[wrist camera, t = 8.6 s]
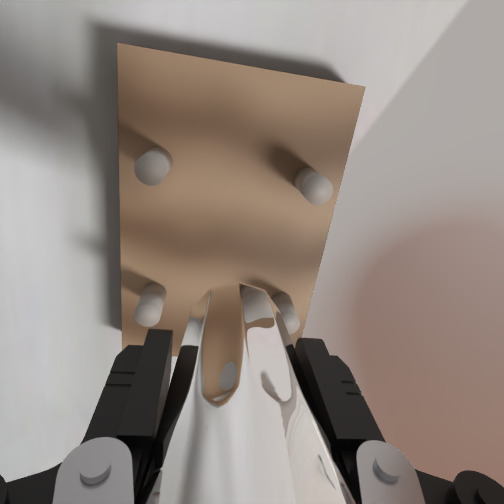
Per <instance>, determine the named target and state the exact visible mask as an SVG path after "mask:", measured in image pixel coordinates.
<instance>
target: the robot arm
mask: <svg viewBox="0 0 504 504" xmlns="http://www.w3.org/2000/svg"><path fill="white" fill-rule="evenodd" d="M172 344H173V330H167V329H150V328H149V329H148V332H147V335H146V338H145V342H144V345H128V346H127V347H125V348H124V349H123V350H122V351H121V352H120V353H119V354H118V355H117V356H116V358H115V361H114V363H113V366H112V368H111V371H110V374H109V376H108V379H107V381H106V384H105V387H104V389H103V391H102V394H101V396H100V399H99V401H98V404H97V406H96V409H95V412H94V414H93V417H92V419H91V422H90V424H89V427H88V429H87V432H86V434H85V437H84V439H83V441H82V442H81V444H80V445H79V446H78V447H76V448H75V449H74V450H73V451H72V452H70V453H69V454H68V456H67V457H66V458H65V459H64V461H63V462H61V463H60V464H58V465H57V466H55V467H53V468H51V469H49V470H46V471H43V472H41V473H37V474H34V475H31V476H27V477H24V478H21V479H17V480H14V481H11V482H7V483H6V482H5V480H4V478H3V477H2V476H1V475H0V504H134V502H135V499H136V496H137V493H138V490H139V487H140V483H141V480H142V477H143V474H144V471H145V468H146V464H147V461H148V458H149V455H150V452H151V449H152V446H153V442H154V439H155V435H156V432H157V429H158V425H159V421H160V418H161V414H162V411H163V407H164V404H165V400H166V397H167V393H168V389H169V382H170V373H171V360H172ZM295 351H296V354H297V356H298V359H299V362H300V364H301V367H302V369H303V372H304V374H305V377H306V380H307V382H308V385H309V387H310V390H311V392H312V395H313V398H314V400H315V403H316V405H317V408H318V410H319V413H320V416H321V418H322V421H323V423H324V426H325V428H326V431H327V433H328V436H329V438H330V440H331V443H332V445H333V447H334V450H335V452H336V454H337V457H338V459H339V461H340V464H341V466H342V468H343V471H344V473H345V476H346V478H347V480H348V483H349V485H350V487H351V490H352V492H353V494H354V497H355V499H356V501H357V504H504V488H503V487H502V486H501V485H500V484H499V483H497V482H496V481H494V480H493V479H491V478H490V477H488V476H486V475H484V474H481V473H479V472H475V471H462V472H460V473H459V474H458V475H457V476H456V478H455V479H454V481H453V482H451V481H448V480H445V479H442V478H439V477H435V476H432V475H429V474H426V473H423V472H421V471H418V470H416V469H414V467H413V465H412V464H411V462H410V461H409V460H408V459H407V457H406V456H405V455H404V454H403V453H402V452H400V451H399V450H398V449H396V448H395V447H393V446H391V445H390V444H388V443H386V442H385V440H384V438H383V436H382V434H381V432H380V430H379V428H378V426H377V424H376V422H375V419H374V417H373V415H372V414H371V411H370V410H369V407H368V405H367V403H366V401H365V399H364V397H363V396H362V395H361V391H360V389H359V387H358V385H357V384H356V381H355V379H354V377H353V375H352V373H351V371H350V369H349V367H348V366H347V365H346V364H345V363H344V362H343V361H342V360H341V359H340V358H339V357H338V356H332V355H331V356H330V355H329V353H328V350H327V348H326V346H325V344H324V342H323V340H322V339H314V338H298V339H297V342H296V345H295Z"/></svg>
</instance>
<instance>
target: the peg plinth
mask: <svg viewBox="0 0 504 504" xmlns="http://www.w3.org/2000/svg"><path fill="white" fill-rule="evenodd" d="M117 77H118V136H119V196H120V255H121V314H122V350H123V349H124V348H125V347H127V346H128V345H144V342H145V338H146V335H147V332H148V329H149V328H150V329H167V330H173V344H172V356H178V355H179V351H180V348H181V344H182V341H183V337H184V334H185V330H186V327H187V323H188V320H189V316H190V313H191V310H192V307H193V306H194V305H195V304H196V303H197V302H198V301H199V300H200V299H201V298H202V296H203V295H204V294H205V293H206V292H207V291H208V290H209V289H210V288H212V287H216V286H220V285H225V284H229V283H233V282H237V281H240V282H243V283H246V284H249V285H252V286H255V287H258V288H261V289H264V290H266V292H267V293H268V295H269V296H270V298H271V299H272V301H273V302H274V304H275V305H276V306H277V308H278V309H279V311H280V313H281V315H282V318H283V320H284V323H285V326H286V328H287V331H288V333H289V336H290V338H291V341H292V344H293V346H294V349H295V345H296V342H297V339H298V338H301V337H302V333H303V329H304V325H305V321H306V317H307V313H308V310H309V306H310V302H311V298H312V294H313V290H314V286H315V282H316V278H317V274H318V271H319V267H320V263H321V259H322V255H323V251H324V247H325V243H326V239H327V235H328V232H329V228H330V224H331V220H332V216H333V212H334V208H335V204H336V200H337V196H338V192H339V189H340V185H341V181H342V177H343V173H344V169H345V165H346V161H347V157H348V153H349V150H350V146H351V142H352V138H353V134H354V130H355V126H356V122H357V118H358V114H359V111H360V107H361V103H362V99H363V95H364V91H365V87H364V86H358V85H353V84H347V83H342V82H336V81H330V80H325V79H319V78H313V77H308V76H302V75H297V74H291V73H285V72H280V71H274V70H268V69H263V68H257V67H251V66H246V65H240V64H235V63H229V62H223V61H218V60H212V59H206V58H201V57H195V56H190V55H184V54H178V53H173V52H167V51H161V50H156V49H150V48H144V47H139V46H133V45H128V44H122V43H117Z"/></svg>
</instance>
